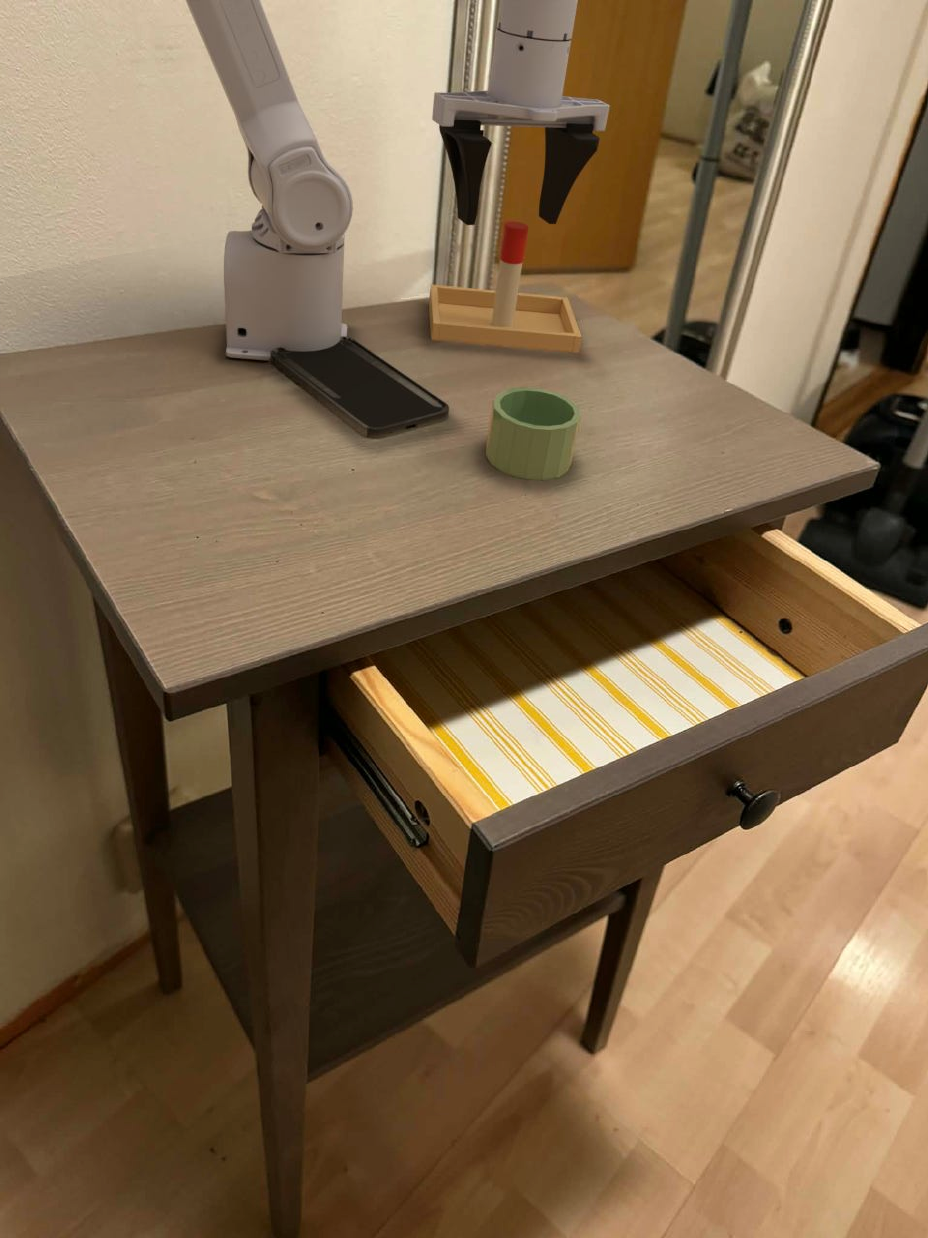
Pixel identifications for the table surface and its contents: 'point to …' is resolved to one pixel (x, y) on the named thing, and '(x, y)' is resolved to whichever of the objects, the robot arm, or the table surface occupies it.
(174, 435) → the table surface
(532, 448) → the pen cup
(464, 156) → the robot arm
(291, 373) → the phone
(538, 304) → the pen tray
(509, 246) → the marker
